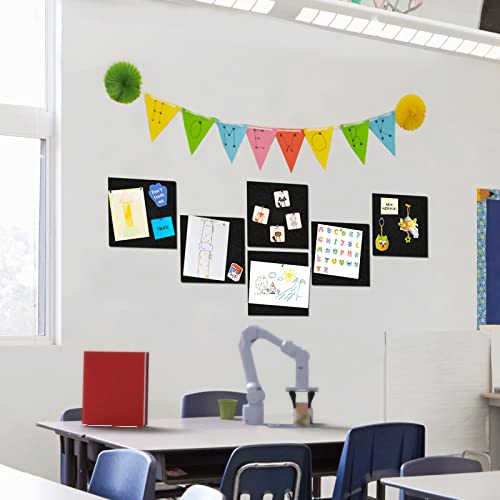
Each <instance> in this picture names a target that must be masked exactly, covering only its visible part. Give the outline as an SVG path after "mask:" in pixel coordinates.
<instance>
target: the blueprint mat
mask: <svg viewBox="0 0 500 500" xmlns="http://www.w3.org/2000/svg"><path fill="white" fill-rule="evenodd" d="M264 426H265V427H267V428H269V429H325V427H323V426H322V425H319V424H317V423H310V426H295V425H294V423H293V424H292V423H290V424H289V423H273V424H272V423H269V424H267V423H265V425H264Z"/></svg>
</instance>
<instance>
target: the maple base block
mask: <svg viewBox="0 0 500 500" xmlns="http://www.w3.org/2000/svg"><path fill="white" fill-rule="evenodd" d="M293 424H294V425H295V426H310V424H311V423H310V415H309V414H308V415H298V414H294V416H293Z"/></svg>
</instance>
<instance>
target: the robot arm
mask: <svg viewBox="0 0 500 500" xmlns="http://www.w3.org/2000/svg"><path fill="white" fill-rule="evenodd" d="M259 339H262V340H263V339H264V340H265V341H267V342H269V343H271V344H274V345H275V346H277V347H279V348H280V352H281V353H283V354H285V355H286V356H288V357H290V359H294V361H295V386H291V387H290V386H288V387H287V386H286V387H285V390H284V391H285V393H288V395H289V396H290V399H291V402H292V408H293V410H294V409H296V402H297V393H306V394H307V403H308V409H310V407H311V405H312V402H313V400H314V397H315V396H316V393H319V387H317V386H315V387H314V386H313V387H312V386H309V374H310V373H309V372H310V371H309V369H310V368H309V360H310V358H311V356H310V352H309V351H308V350H307V349H303V347H302V346H298V345H296V344H294V342H293V341H292V340H283V339H281V338H279V337H278V336H276V335H275V334H274V333H272V332H270V331H269V330H267V329H266V328H263V327H260V326H259V325H256V324H254V325H253V324H252V325H251V324H249V325H246V326H245V327H244V328H243V330H242V331H241V335H240V339H239V342H238V350H239V354H240V358H241V359H240V360H241V363H242V367H243V371H244V376H245V380H246V385H247V386H246V392H247V393H246V400H247V404H243V405H242V409H241V410H242V412H241V413H242V414H241V415H242V417H241V420H242V422H241V423H242V424H243V425H244V426H245V425H246V426H251V425H252V426H256V425H258V426H261V425H262V426H263V425H264V426H265V424H266V423H265V422H264V421H265V420H264V419H265V416H264V415H265V414H264V413H265V410H264V409H265V403H264V400H265V399H266V393H265V391H264V390H263V389H262V385H261V383H260V382H259V378H258V377H259V376H258V373H257V370H256V365H255V361H254V356H253V352H252V349H251V348H252V346H253V344H254V343H255V342H256V341H257V340H259ZM296 392H297V393H296Z"/></svg>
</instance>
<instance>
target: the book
mask: <svg viewBox="0 0 500 500" xmlns="http://www.w3.org/2000/svg"><path fill="white" fill-rule="evenodd" d="M82 362H83V363H82V364H83V368H82V370H83V371H82V377H83V378H82V409H81V411H82V412H81V425H82V424H87V425H112V426H137V427H143V428H144V427H147V426H146V425H148V424H149V423H148V419H149V417H148V416H149V381H150V380H149V379H150V378H149V375H150V373H149V372H150V367H149V366H150V351H130V350H129V351H128V350H126V351H123V350H122V351H117V350H84V351H83V361H82ZM144 425H145V426H144ZM148 426H149V425H148Z"/></svg>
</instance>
